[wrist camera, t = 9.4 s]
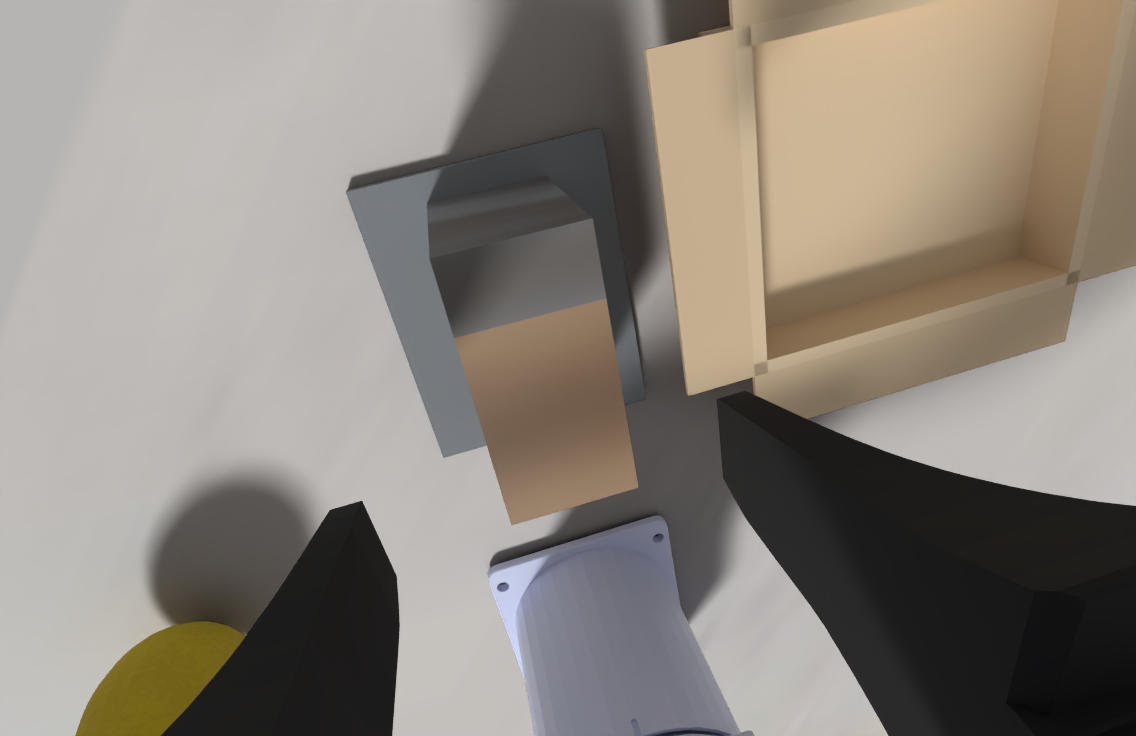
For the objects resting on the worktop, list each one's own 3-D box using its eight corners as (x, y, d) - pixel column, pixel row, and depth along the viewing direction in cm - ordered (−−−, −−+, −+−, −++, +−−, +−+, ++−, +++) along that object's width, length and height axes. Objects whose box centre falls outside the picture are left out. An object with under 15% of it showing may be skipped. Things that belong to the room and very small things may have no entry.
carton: (1063, 302, 27) (1120, 324, 25) (671, 418, 25) (695, 452, 23) (1158, -167, 19) (1253, -196, 17) (605, -47, 17) (632, -62, 15)
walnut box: (588, 390, 23) (638, 487, 18) (490, 418, 23) (511, 525, 18) (545, 175, 19) (592, 218, 14) (426, 204, 19) (429, 259, 14)
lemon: (230, 554, 23) (149, 764, 16) (313, 639, 26) (274, 850, 19) (97, 616, 23) (-40, 853, 16) (194, 694, 26) (112, 927, 19)
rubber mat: (642, 394, 24) (646, 399, 24) (443, 451, 23) (443, 457, 23) (599, 128, 19) (602, 129, 19) (347, 189, 19) (345, 191, 18)
